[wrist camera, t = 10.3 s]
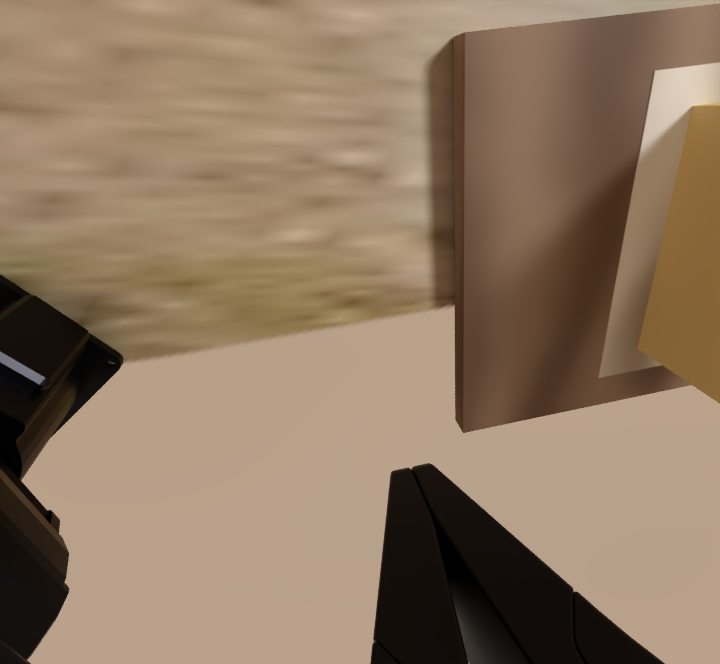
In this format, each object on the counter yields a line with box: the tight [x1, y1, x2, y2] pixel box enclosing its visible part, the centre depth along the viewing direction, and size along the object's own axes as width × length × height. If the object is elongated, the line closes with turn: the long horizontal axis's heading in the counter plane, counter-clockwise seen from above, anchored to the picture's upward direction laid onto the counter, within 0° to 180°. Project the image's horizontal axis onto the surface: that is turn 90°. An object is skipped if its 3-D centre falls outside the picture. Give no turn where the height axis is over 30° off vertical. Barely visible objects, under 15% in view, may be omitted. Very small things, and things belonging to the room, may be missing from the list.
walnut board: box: [453, 4, 720, 433], centre depth 22 cm, size 25×19×1 cm
